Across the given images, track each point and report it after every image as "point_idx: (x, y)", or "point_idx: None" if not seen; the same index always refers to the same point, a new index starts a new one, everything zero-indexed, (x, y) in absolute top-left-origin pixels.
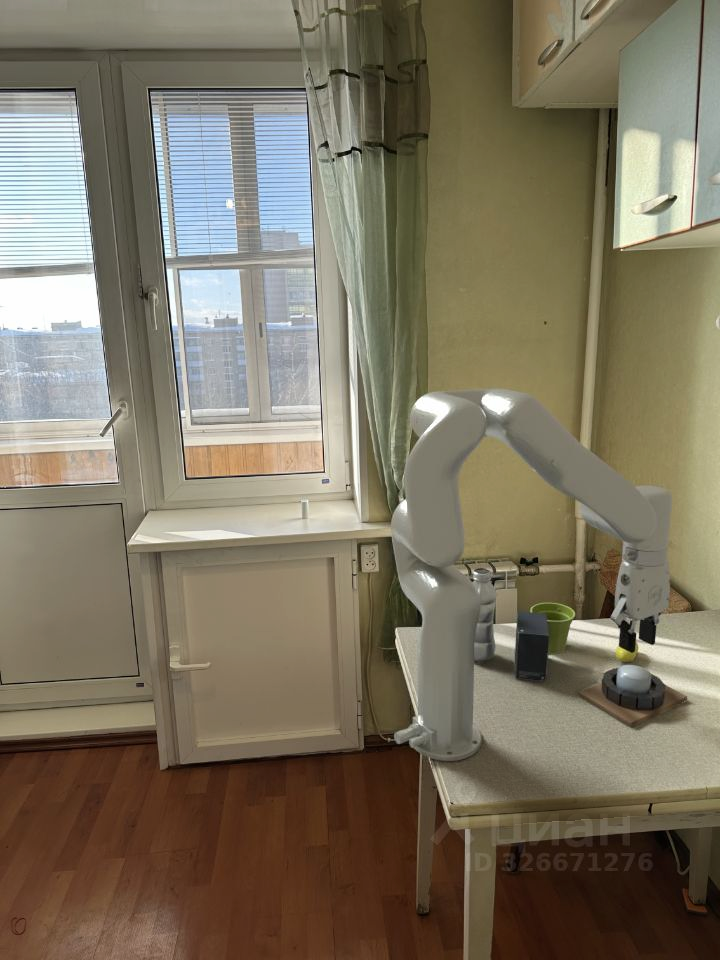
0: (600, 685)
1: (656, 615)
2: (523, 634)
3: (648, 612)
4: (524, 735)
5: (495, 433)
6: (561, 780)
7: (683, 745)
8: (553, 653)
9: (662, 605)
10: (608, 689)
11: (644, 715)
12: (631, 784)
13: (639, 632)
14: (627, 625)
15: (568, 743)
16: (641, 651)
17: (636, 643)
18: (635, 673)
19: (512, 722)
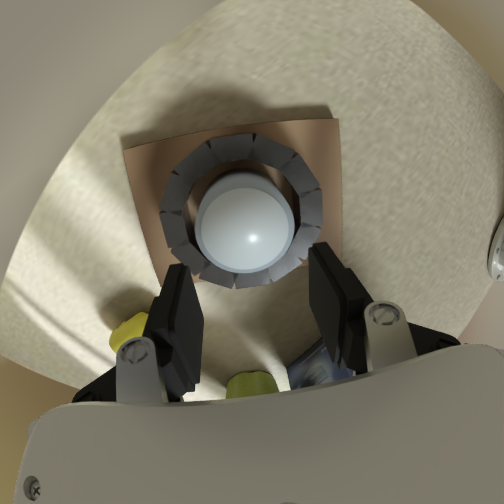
0: None
1: (137, 387)
2: None
3: (376, 425)
4: (471, 203)
5: None
6: (491, 104)
7: (277, 24)
8: (263, 372)
9: (104, 468)
10: (321, 222)
11: (287, 123)
12: (434, 31)
13: (202, 338)
14: (416, 344)
15: (448, 151)
16: (102, 328)
17: (112, 342)
18: (249, 223)
19: (461, 236)
